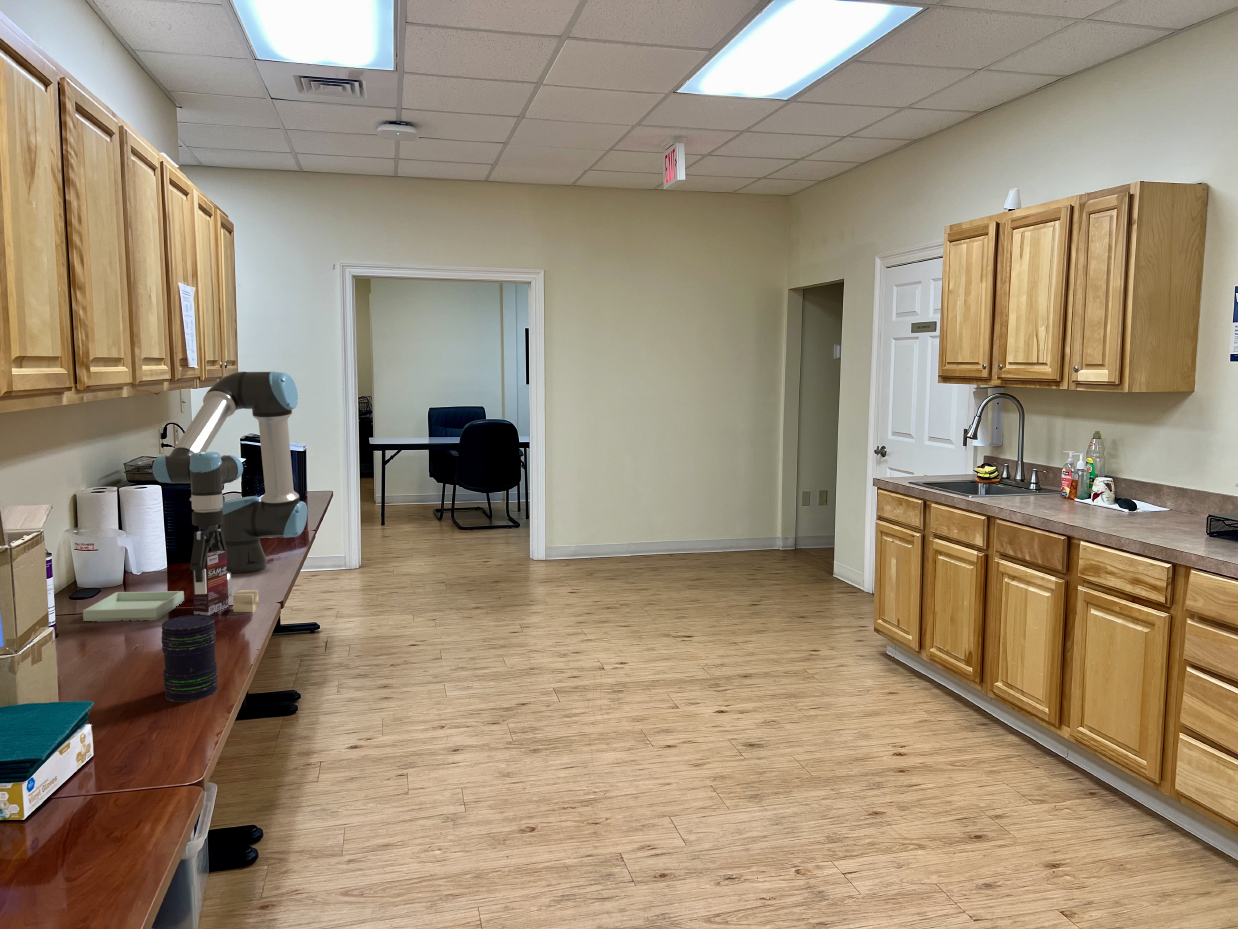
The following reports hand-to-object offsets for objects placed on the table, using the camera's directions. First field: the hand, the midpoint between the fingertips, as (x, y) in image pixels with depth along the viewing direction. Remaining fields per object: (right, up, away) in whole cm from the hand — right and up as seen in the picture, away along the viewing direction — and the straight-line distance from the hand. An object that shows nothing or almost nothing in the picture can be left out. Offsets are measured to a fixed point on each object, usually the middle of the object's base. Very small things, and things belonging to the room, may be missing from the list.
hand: (210, 587), depth 230 cm
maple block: (+9, -7, +2) cm, 11 cm away
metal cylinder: (-4, -5, +15) cm, 16 cm away
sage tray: (-20, -6, 0) cm, 21 cm away
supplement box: (0, -7, +1) cm, 7 cm away
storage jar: (+23, -14, -56) cm, 63 cm away
